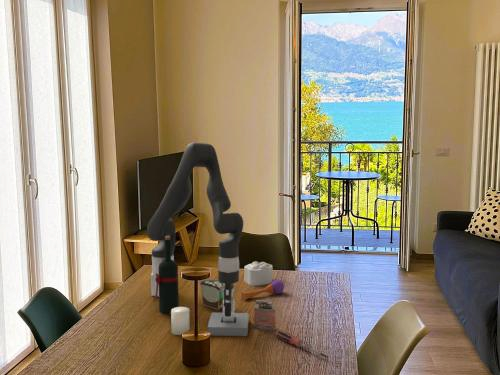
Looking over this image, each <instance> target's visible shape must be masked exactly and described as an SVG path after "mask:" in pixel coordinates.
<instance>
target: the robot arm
mask: <svg viewBox="0 0 500 375" xmlns="http://www.w3.org/2000/svg"><path fill="white" fill-rule="evenodd" d="M219 164H220V163H219V160H218V156H217V151H216V149H215V147H214V146H213V145H212V144H210V143H203V142H190V143H189V144H187V145H186V147H185V149H184V152H183V155H182V157H181V161H180V163H179V165H178V168H177V170H176V172H175V174H174V176H173V178H172V180H171V183H170V184H169V187H168V188H167V189H166V192H165V195H164V197H163V199H162V201H161V202H160V204H159V206H158V208H156V211H155V213H153V215H152V217H151V218H150V220H149V221H148V223H147V227H146V235H147V237H148V239H149V240H151V241H153V242H157V241H159V243H158V244H157V245H155V246H154V247H153V248H152V250H151V274H150V284H151V287H150V288H151V292H150V293H151V295H150V296H151V297H155V295H156V284H157V283H156V281H155V277H156V273H157V274H158V275H159V264H160V263H161V262H162V261H164V260H165V236H170V240H171V260H173V261H175V259H174V257H175V256H174V255H175V253H174V252H175V249H176V226H175V222H174V220H173V219H172V218H173V217H174V216H175V215H176V214H178V213H179V211H180V212H181V210H182V209H183V208H184V207H185V206H186V205H187V203H188V201H189V200H190V197H191V195H192V192H193V187H192V182H191V179H190V178H191V177H190V175H191V173H192V171H193V169H194V168H205V169H206V170H207V172H208V175H209V176H208V177H209V178H208V181H207V186H206V196H207V199H208V201H209V205H210V206H211V210H212V218H213V219H212V220H213V221H212V222H213V228H214V230H215V232H217V233H218V234H219V235H226V234H228V236H227V237H225V238H223V239H222V240H219V243H218V261H217V262H218V263H217V265H218V266H217V268H218V270H217V272H218V273H217V280H218V281H219V282H221V283H224V284H225V285H224V286H223V300H224V304H223V305H224V306H225V316H231V305H232V304H231V301H232V300H234V294H235V285H234V284H236V283H238V282H240V259H239V244H240V241H241V237H242V233H243V231H244V219H243V216H242V215H241V214H240V213H239V212H230V213H225V212H227V211H229V210H230V209H231V206H232V203H231V199H230V197H229V195H228V192H227V190H226V187H225V185H224V181H223V178H222V174H221V168H220V165H219ZM157 298H159V284H158V293H157ZM226 300H229V303H226ZM223 305H222V306H223Z"/></svg>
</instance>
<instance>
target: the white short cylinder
mask: <svg viewBox="0 0 500 375" xmlns="http://www.w3.org/2000/svg"><path fill="white" fill-rule="evenodd" d="M170 315H171V316H170V318H171V319H170V320H171V322H170V323H171V325H170V326H171V327H170V328H171V334H172V335H176V336H182V335H181V334H182V333H184V332H186V331H188V330H190V328H191V326H190V308H189V307H186V306H179V307H176V308H173V309H172V310H171V314H170ZM190 331H191V330H190Z"/></svg>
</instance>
